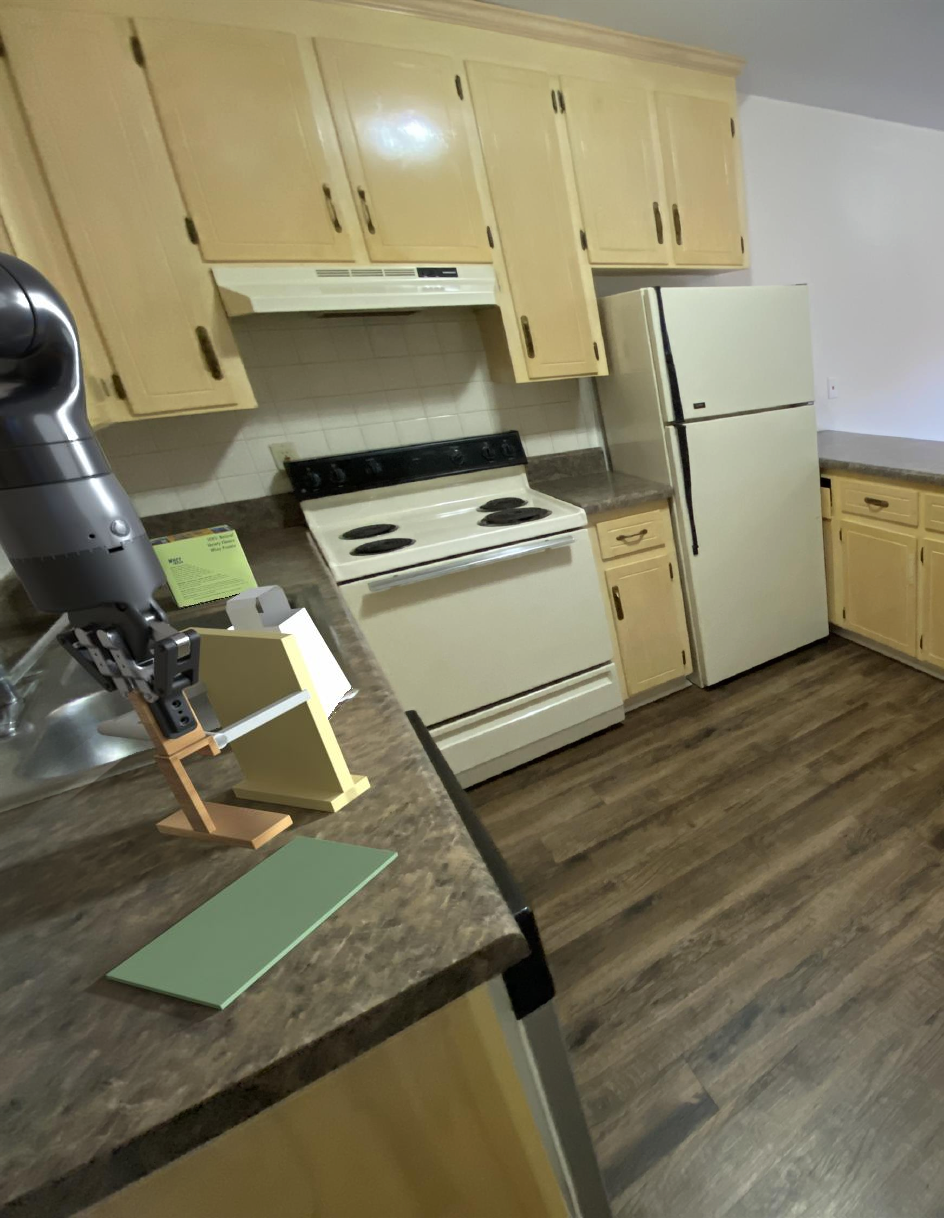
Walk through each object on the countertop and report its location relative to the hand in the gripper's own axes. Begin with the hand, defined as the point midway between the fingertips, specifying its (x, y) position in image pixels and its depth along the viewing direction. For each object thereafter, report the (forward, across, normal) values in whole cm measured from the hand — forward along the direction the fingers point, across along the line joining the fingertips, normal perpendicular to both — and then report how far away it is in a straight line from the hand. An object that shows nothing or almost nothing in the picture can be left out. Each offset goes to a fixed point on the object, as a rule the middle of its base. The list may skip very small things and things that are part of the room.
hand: (175, 732), depth 57 cm
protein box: (+21, -116, +75) cm, 140 cm away
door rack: (+21, -15, +12) cm, 28 cm away
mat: (+21, 0, 0) cm, 21 cm away
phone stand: (+3, 0, 0) cm, 3 cm away
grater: (+21, -35, +32) cm, 52 cm away
